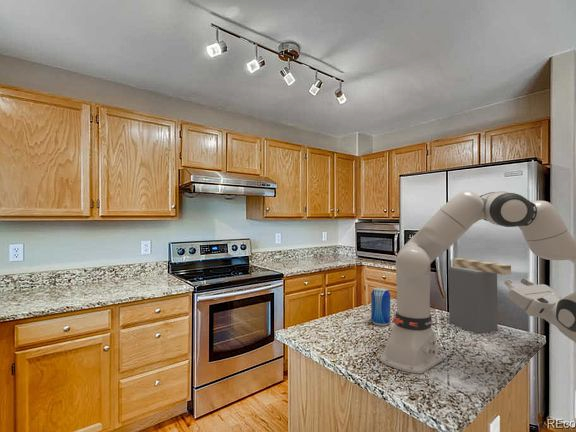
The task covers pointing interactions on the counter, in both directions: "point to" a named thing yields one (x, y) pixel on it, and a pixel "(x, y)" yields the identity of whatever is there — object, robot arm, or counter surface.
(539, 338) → the counter surface
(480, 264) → the maple bar
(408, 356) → the robot arm
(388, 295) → the beer can
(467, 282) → the charcoal stand
